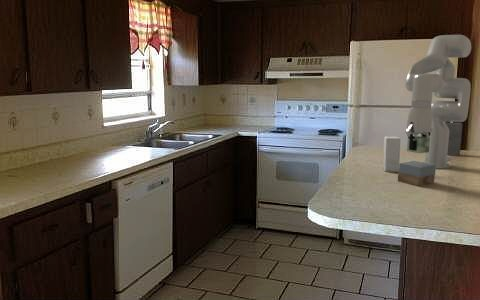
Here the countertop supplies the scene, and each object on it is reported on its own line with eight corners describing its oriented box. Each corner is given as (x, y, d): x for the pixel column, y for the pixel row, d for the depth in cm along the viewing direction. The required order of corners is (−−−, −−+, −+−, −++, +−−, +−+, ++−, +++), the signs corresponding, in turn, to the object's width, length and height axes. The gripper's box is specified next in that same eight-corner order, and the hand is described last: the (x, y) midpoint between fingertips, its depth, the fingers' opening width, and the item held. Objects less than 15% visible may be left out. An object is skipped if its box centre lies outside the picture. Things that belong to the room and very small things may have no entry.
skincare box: (399, 172, 204) (401, 138, 202) (383, 171, 206) (385, 138, 203) (396, 168, 212) (398, 136, 210) (382, 168, 214) (383, 135, 211)
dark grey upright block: (429, 154, 251) (432, 118, 247) (430, 152, 256) (433, 117, 252) (459, 156, 244) (463, 119, 241) (459, 154, 249) (462, 118, 246)
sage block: (416, 150, 188) (417, 135, 187) (428, 152, 183) (430, 137, 182) (406, 151, 185) (407, 136, 184) (419, 153, 180) (420, 138, 179)
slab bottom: (413, 179, 193) (414, 170, 193) (433, 184, 185) (434, 174, 184) (397, 182, 188) (398, 172, 188) (417, 187, 180) (418, 177, 179)
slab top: (413, 169, 193) (414, 160, 192) (435, 174, 185) (435, 164, 184) (398, 172, 188) (399, 163, 187) (420, 177, 179) (420, 167, 179)
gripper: (427, 104, 189) (423, 146, 192) (399, 105, 180) (396, 149, 183) (443, 105, 182) (439, 149, 185) (415, 106, 174) (411, 152, 176)
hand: (418, 149), depth 184 cm, fingers closed on sage block, 6 cm apart
